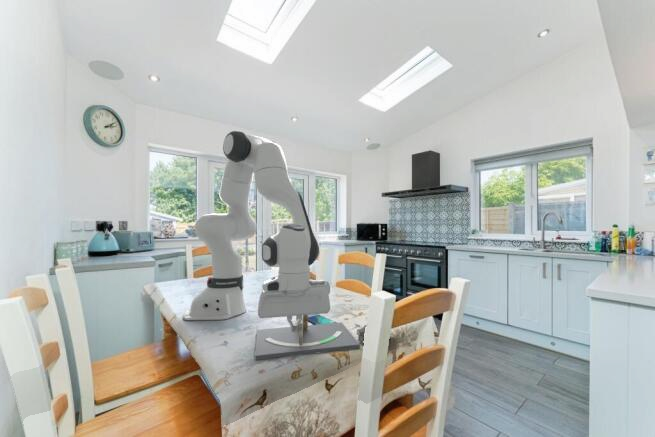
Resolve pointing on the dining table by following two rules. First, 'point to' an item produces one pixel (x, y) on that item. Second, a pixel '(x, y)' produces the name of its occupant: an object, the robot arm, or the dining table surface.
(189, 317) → the robot arm
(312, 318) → the smartphone
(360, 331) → the egg carton
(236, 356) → the dining table surface
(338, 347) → the arc gauge board
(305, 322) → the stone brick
